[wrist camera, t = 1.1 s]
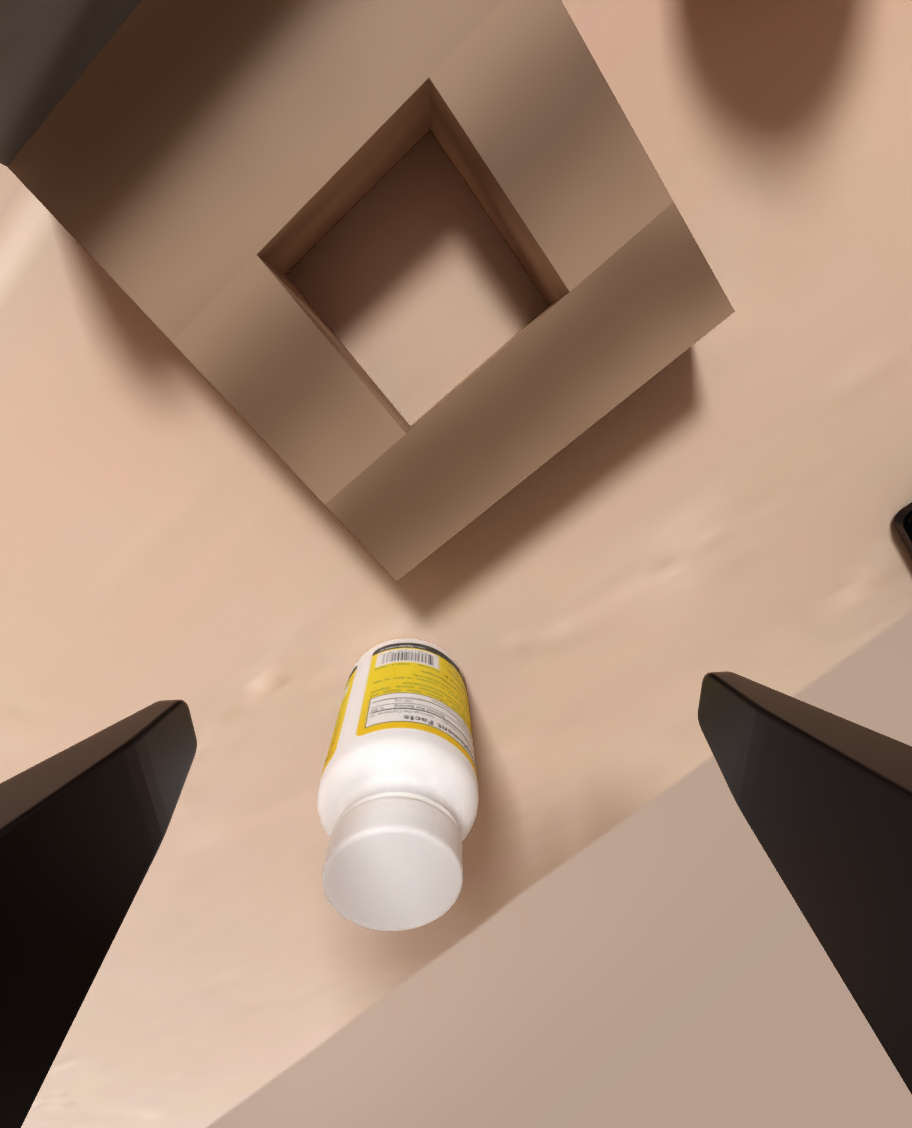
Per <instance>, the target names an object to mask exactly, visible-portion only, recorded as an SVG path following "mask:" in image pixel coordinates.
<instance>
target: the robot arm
mask: <svg viewBox="0 0 912 1128" xmlns="http://www.w3.org/2000/svg"><path fill="white" fill-rule="evenodd" d="M911 517H912V502H911V503H910V504H909V505H907V506H906V507H904V508H903V509H901V510H900V511H899V512H898V513H897V515H896V517H895V525H896V527H897V529H898V531H899V533H900V535H901V537H902V539H903V540H904V542H905V544H906V546H907V548H908V550H909V552H910V554H911V556H912V520H911V521H910V522H909V519H910V518H911ZM698 720H699V724H700V727H701V729H702V732H703V734H704V736H705V738H706V740H707V742H708V744H709V746H710V748H711V751H712V753H713V755H714V757H715V759H716V761H717V763H718V765H719V767H720V769H721V772H722V774H723V776H724V778H725V780H726V782H727V784H728V787H729V789H730V791H731V793H732V795H733V797H734V799H735V801H736V803H737V804H738V806H739V808H740V810H741V812H742V813H743V815H744V817H745V819H746V820H747V822H748V824H749V825H750V827H751V829H752V830H753V832H754V834H755V835H756V837H757V838H758V840H759V842H760V844H761V845H762V847H763V848H764V850H765V852H766V853H767V855H768V857H769V858H770V860H771V862H772V863H773V865H774V867H775V868H776V870H777V872H778V873H779V875H780V877H781V878H782V880H783V882H784V883H785V885H786V887H787V888H788V890H789V892H790V893H791V895H792V897H793V898H794V900H795V901H796V903H797V905H798V906H799V908H800V910H801V911H802V913H803V915H804V916H805V918H806V920H807V921H808V923H809V925H810V926H811V928H812V930H813V931H814V933H815V935H816V936H817V938H818V940H819V941H820V943H821V945H822V946H823V948H824V950H825V951H826V953H827V955H828V956H829V958H830V960H831V961H832V963H833V965H834V966H835V968H836V970H837V971H838V973H839V974H840V976H841V978H842V980H843V981H844V983H845V984H846V986H847V988H848V989H849V991H850V993H851V994H852V996H853V998H854V999H855V1001H856V1003H857V1004H858V1006H859V1008H860V1009H861V1011H862V1013H863V1014H864V1016H865V1018H866V1019H867V1021H868V1023H869V1024H870V1026H871V1027H872V1029H873V1031H874V1032H875V1034H876V1036H877V1038H878V1039H879V1041H880V1043H881V1044H882V1046H883V1047H884V1049H885V1051H886V1052H887V1054H888V1056H889V1057H890V1059H891V1061H892V1062H893V1064H894V1066H895V1067H896V1069H897V1071H898V1072H899V1074H900V1075H901V1077H902V1079H903V1081H904V1082H905V1084H906V1086H907V1087H908V1089H909V1091H910V1092H911V1094H912V747H911V746H908V745H906V744H904V743H902V742H899V741H897V740H894V739H892V738H889V737H887V736H885V735H882V734H880V733H877V732H875V731H872V730H870V729H868V728H865V727H863V726H860V725H858V724H856V723H853V722H851V721H848V720H846V719H844V718H841V717H839V716H836V715H834V714H832V713H829V712H827V711H824V710H822V709H819V708H817V707H815V706H812V705H810V704H807V703H805V702H802V701H800V700H798V699H795V698H793V697H791V696H788V695H786V694H783V693H781V692H778V691H776V690H774V689H771V688H769V687H766V686H764V685H762V684H759V683H757V682H754V681H752V680H749V679H747V678H745V677H742V676H740V675H737V674H735V673H732V672H711V673H707V674H706V675H705V676H704V678H703V681H702V688H701V694H700V701H699V708H698ZM196 748H197V740H196V735H195V731H194V727H193V723H192V719H191V715H190V711H189V707H188V705H187V703H186V702H184V701H183V700H164V701H158V702H156V703H154V704H152V705H150V706H148V707H146V708H144V709H142V710H140V711H138V712H136V713H135V714H133V715H131V716H129V717H127V718H125V719H123V720H121V721H119V722H117V723H115V724H113V725H112V726H110V727H108V728H106V729H104V730H102V731H100V732H98V733H96V734H94V735H92V736H91V737H89V738H87V739H85V740H83V741H81V742H79V743H77V744H75V745H73V746H71V747H69V748H68V749H66V750H64V751H62V752H60V753H58V754H56V755H54V756H52V757H50V758H48V759H47V760H45V761H43V762H41V763H39V764H37V765H35V766H33V767H31V768H29V769H27V770H25V771H24V772H22V773H20V774H18V775H16V776H14V777H12V778H10V779H8V780H6V781H4V782H3V783H1V784H0V1128H21V1126H22V1124H23V1122H24V1120H25V1118H26V1116H27V1114H28V1112H29V1110H30V1108H31V1106H32V1104H33V1102H34V1100H35V1098H36V1096H37V1094H38V1092H39V1090H40V1088H41V1086H42V1084H43V1082H44V1079H45V1077H46V1075H47V1073H48V1071H49V1069H50V1067H51V1065H52V1063H53V1061H54V1059H55V1057H56V1055H57V1053H58V1051H59V1049H60V1047H61V1045H62V1043H63V1041H64V1039H65V1037H66V1035H67V1033H68V1031H69V1029H70V1027H71V1025H72V1023H73V1021H74V1019H75V1017H76V1015H77V1013H78V1011H79V1009H80V1007H81V1005H82V1003H83V1001H84V999H85V997H86V995H87V993H88V990H89V988H90V986H91V984H92V982H93V980H94V978H95V976H96V974H97V972H98V970H99V968H100V966H101V964H102V962H103V960H104V958H105V956H106V954H107V952H108V950H109V948H110V946H111V944H112V942H113V940H114V938H115V936H116V934H117V932H118V930H119V928H120V926H121V924H122V922H123V920H124V918H125V916H126V914H127V912H128V910H129V908H130V906H131V904H132V901H133V899H134V897H135V895H136V893H137V891H138V889H139V887H140V885H141V883H142V881H143V879H144V877H145V875H146V873H147V871H148V869H149V867H150V865H151V863H152V861H153V859H154V857H155V855H156V853H157V851H158V849H159V846H160V844H161V842H162V840H163V838H164V835H165V833H166V831H167V828H168V826H169V823H170V820H171V818H172V815H173V812H174V810H175V807H176V804H177V802H178V799H179V796H180V794H181V791H182V788H183V786H184V783H185V780H186V778H187V775H188V772H189V770H190V767H191V764H192V762H193V759H194V756H195V753H196Z"/></svg>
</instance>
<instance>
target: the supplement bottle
mask: <svg viewBox="0 0 912 1128" xmlns="http://www.w3.org/2000/svg"><path fill="white" fill-rule="evenodd" d="M478 800H479V795H478V780H477V772H476V764H475V755H474V747H473V738H472V730H471V721H470V713H469V705H468V697H467V690H466V684H465V680H464V677H463V674H462V671H461V669H460V667H459V666H458V664H457V663H456V661H455V660H454V659H453V658H452V657H451V656H450V655H449V654H448V653H447V652H446V651H444V650H443V649H442V648H440V647H438V646H436V645H434V644H432V643H430V642H427V641H423V640H419V639H411V638H401V639H394V640H390V641H386V642H384V643H381V644H379V645H377V646H375V647H373V648H372V649H370V650H369V651H367V652H366V653H365V654H364V655H363V656H362V657H361V658H360V659H359V660H358V662H357V663H356V664H355V666H354V668H353V670H352V671H351V674H350V677H349V680H348V682H347V686H346V689H345V693H344V696H343V700H342V704H341V707H340V711H339V715H338V718H337V722H336V725H335V729H334V733H333V736H332V740H331V744H330V747H329V751H328V755H327V758H326V761H325V765H324V769H323V772H322V776H321V781H320V786H319V791H318V813H319V817H320V821H321V824H322V826H323V828H324V830H325V832H326V834H327V836H328V837H329V838H330V839H329V842H328V847H327V852H326V858H325V863H324V868H323V874H322V883H323V890H324V893H325V895H326V898H327V900H328V901H329V903H330V904H331V906H332V907H333V908H334V909H335V910H336V911H337V912H338V913H339V914H340V915H341V916H342V917H344V918H345V919H347V920H349V921H350V922H352V923H354V924H357V925H359V926H362V927H365V928H368V929H373V930H378V931H403V930H409V929H414V928H418V927H421V926H424V925H426V924H428V923H430V922H432V921H434V920H436V919H438V918H439V917H441V916H442V915H444V914H445V913H446V912H447V911H448V910H449V909H450V908H451V907H452V906H453V904H454V903H455V901H456V900H457V898H458V896H459V894H460V891H461V889H462V884H463V857H462V855H463V846H462V842H463V840H464V839H465V838H466V836H467V835H468V834H469V832H470V830H471V828H472V826H473V824H474V821H475V819H476V815H477V810H478Z"/></svg>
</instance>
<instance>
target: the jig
mask: <svg viewBox="0 0 912 1128" xmlns="http://www.w3.org/2000/svg"><path fill="white" fill-rule="evenodd" d="M429 130H431V131H432V133H433V134H434V136H435V137H436V139H437V140H438V142H439V143H440V145H441V146H442V148H443V149H444V150H445V152H446V153H447V155H448V156H449V158H450V159H451V161H452V162H453V164H454V165H455V167H456V168H457V170H458V171H459V173H460V174H461V176H462V177H463V179H464V180H465V182H466V183H467V185H468V186H469V188H470V189H471V191H472V192H473V193H474V195H475V196H476V198H477V199H478V201H479V202H480V204H481V205H482V207H483V208H484V210H485V211H486V213H487V214H488V216H489V217H490V219H491V220H492V222H493V223H494V225H495V226H496V228H497V229H498V231H499V232H500V233H501V235H502V236H503V238H504V239H505V241H506V242H507V244H508V245H509V247H510V248H511V250H512V251H513V253H514V254H515V256H516V257H517V259H518V260H519V262H520V263H521V265H522V266H523V268H524V269H525V271H526V272H527V273H528V275H529V276H530V278H531V279H532V281H533V282H534V284H535V285H536V287H537V288H538V290H539V291H540V293H541V294H542V296H543V297H544V299H545V300H546V302H547V303H548V305H549V306H548V307H547V308H546V309H545V310H544V311H543V312H542V313H540V314H539V315H538V316H537V317H536V318H535V319H534V320H532V321H531V322H530V323H529V324H528V325H527V326H525V327H524V328H523V329H522V330H521V331H520V332H519V333H517V334H516V335H515V336H514V337H513V338H512V339H510V340H509V341H508V342H507V343H506V344H505V345H504V346H502V347H501V348H500V349H499V350H498V351H497V352H496V353H494V354H493V355H492V356H491V357H490V358H489V359H487V360H486V361H485V362H484V363H483V364H482V365H481V366H479V367H478V368H477V369H476V370H475V371H474V372H473V373H471V374H470V375H469V376H468V377H467V378H466V379H464V380H463V381H462V382H461V383H460V384H459V385H458V386H456V387H455V388H454V389H453V390H452V391H451V392H449V393H448V394H447V395H446V396H445V397H444V398H443V399H441V400H440V401H439V402H438V403H437V404H436V405H435V406H433V407H432V408H431V409H430V410H429V411H428V412H426V413H425V414H424V415H423V416H422V417H421V418H420V419H418V420H417V421H416V422H415V423H414V424H413V425H412V426H410V425H409V424H408V423H407V422H406V421H405V419H404V418H403V417H402V416H401V414H400V413H399V412H398V411H397V410H396V408H395V407H394V406H393V405H392V404H391V402H390V401H389V400H388V399H387V398H386V396H385V395H384V394H383V393H382V391H381V390H380V389H379V388H378V387H377V385H376V384H375V383H374V382H373V381H372V379H371V378H370V377H369V376H368V375H367V373H366V372H365V371H364V370H363V369H362V367H361V366H360V365H359V364H358V362H357V361H356V360H355V359H354V358H353V356H352V355H351V354H350V353H349V352H348V350H347V349H346V348H345V347H344V346H343V344H342V343H341V342H340V341H339V340H338V338H337V337H336V336H335V335H334V333H333V332H332V331H331V330H330V329H329V327H328V326H327V325H326V324H325V323H324V321H323V320H322V319H321V318H320V317H319V315H318V314H317V313H316V312H315V310H314V309H313V308H312V307H311V306H310V304H309V303H308V302H307V301H306V300H305V298H304V297H303V296H302V295H301V294H300V292H299V291H298V290H297V289H296V288H295V286H294V285H293V284H292V283H291V281H290V280H289V279H288V278H287V277H286V274H287V273H288V272H289V271H290V270H291V269H292V268H293V267H294V266H295V265H296V264H297V263H298V262H299V261H300V260H301V259H302V258H303V257H304V256H305V255H306V254H307V253H308V252H309V251H310V250H311V249H312V248H313V247H314V246H315V245H316V244H317V243H318V242H319V241H320V240H321V239H322V238H323V237H324V236H325V235H326V234H327V233H328V232H329V231H330V230H331V229H332V228H333V227H334V226H335V225H336V224H337V223H338V222H339V221H340V220H341V219H342V218H343V217H344V216H345V215H346V214H347V213H348V212H349V210H350V209H351V208H352V207H353V206H354V205H355V204H356V203H357V202H358V201H359V200H360V199H361V198H362V197H363V196H364V195H365V194H366V193H367V192H368V191H369V190H370V189H371V188H372V187H373V186H374V185H375V184H376V183H377V182H378V181H379V180H380V179H381V178H382V177H383V176H384V175H385V174H386V173H387V172H388V171H389V170H390V169H391V168H392V167H393V166H394V165H395V164H396V163H397V162H398V161H399V160H400V159H401V158H402V157H403V156H404V155H405V154H406V153H407V152H408V151H409V150H410V149H411V148H412V147H413V146H414V145H415V144H416V143H417V142H418V141H419V140H420V139H421V138H422V137H423V136H424V135H425V134H426V133H427V132H428V131H429ZM0 163H1V164H3V165H5V166H7V167H8V168H9V169H10V170H11V171H12V172H13V173H14V174H15V175H16V176H17V177H18V179H19V180H20V181H21V182H22V183H23V184H24V185H25V186H26V187H27V188H28V189H29V190H30V191H31V192H32V193H33V195H34V196H35V197H36V198H37V199H38V200H39V201H40V202H41V203H42V204H43V205H44V206H45V207H46V208H47V209H48V211H49V212H50V213H51V214H52V215H53V216H54V217H55V218H56V219H57V220H58V221H59V222H60V223H61V224H62V225H63V227H64V228H65V229H66V230H67V231H68V232H69V233H70V234H71V235H72V236H73V237H74V238H75V239H76V240H77V241H78V243H79V244H80V245H81V246H82V247H83V248H84V249H85V250H86V251H87V252H88V253H89V254H90V255H91V256H92V257H93V259H94V260H95V261H96V262H97V263H98V264H99V265H100V266H101V267H102V268H103V269H104V270H105V271H106V272H107V273H108V275H109V276H110V277H111V278H112V279H113V280H114V281H115V282H116V283H117V284H118V285H119V286H120V287H121V288H122V289H123V291H124V292H125V293H126V294H127V295H128V296H129V297H130V298H131V299H132V300H133V301H134V302H135V303H136V304H137V305H138V307H139V308H140V309H141V310H142V311H143V312H144V313H145V314H146V315H147V316H148V317H149V318H150V319H151V320H152V321H153V323H154V324H155V325H156V326H157V327H158V328H159V329H160V330H161V331H162V332H163V333H164V334H165V335H166V336H167V337H168V339H169V340H170V341H171V342H172V343H173V344H174V345H175V346H176V347H177V348H178V349H179V350H180V351H181V352H182V353H183V355H184V356H185V357H186V358H187V359H188V360H189V361H190V362H191V363H192V364H193V365H194V366H195V367H196V368H197V369H198V371H199V372H200V373H201V374H202V375H203V376H204V377H205V378H206V379H207V380H208V381H209V382H210V383H211V384H212V385H213V387H214V388H215V389H216V390H217V391H218V392H219V393H220V394H221V395H222V396H223V397H224V398H225V399H226V400H227V401H228V403H229V404H230V405H231V406H232V407H233V408H234V409H235V410H236V411H237V412H238V413H239V414H240V415H241V416H242V417H243V419H244V420H245V421H246V422H247V423H248V424H249V425H250V426H251V427H252V428H253V429H254V430H255V431H256V432H257V434H258V435H259V436H260V437H261V438H262V439H263V440H264V441H265V442H266V443H267V444H268V445H269V446H270V447H271V448H272V450H273V451H274V452H275V453H276V454H277V455H278V456H279V457H280V458H281V459H282V460H283V461H284V462H285V463H286V464H287V466H288V467H289V468H290V469H291V470H292V471H293V472H294V473H295V474H296V475H297V476H298V477H299V478H300V479H301V480H302V482H303V483H304V484H305V485H306V486H307V487H308V488H309V489H310V490H311V491H312V492H313V493H314V494H315V495H316V496H317V498H318V499H319V500H320V501H321V502H322V503H323V504H324V505H325V506H326V507H327V508H328V509H329V510H330V511H331V512H332V514H333V515H334V516H335V517H336V518H337V519H338V520H339V521H340V522H341V523H342V524H343V525H344V526H345V527H346V528H347V530H348V531H349V532H350V533H351V534H352V535H353V536H354V537H355V538H356V539H357V540H358V541H359V542H360V543H361V544H362V546H363V547H364V548H365V549H366V550H367V551H368V552H369V553H370V554H371V555H372V556H373V557H374V558H375V559H376V560H377V562H378V563H379V564H380V565H381V566H382V567H383V568H384V569H385V570H386V571H387V572H388V573H389V574H390V575H391V576H392V578H393V579H394V580H395V581H396V582H397V581H398V580H399V579H401V578H402V577H403V576H404V575H406V574H407V573H408V572H409V571H411V570H412V569H413V568H414V567H416V566H417V565H418V564H419V563H421V562H422V561H423V560H424V559H426V558H427V557H428V556H429V555H431V554H432V553H433V552H434V551H436V550H437V549H438V548H439V547H441V546H442V545H443V544H444V543H446V542H447V541H448V540H449V539H451V538H452V537H453V536H454V535H456V534H457V533H458V532H459V531H461V530H462V529H463V528H464V527H466V526H467V525H468V524H469V523H471V522H472V521H473V520H474V519H476V518H477V517H478V516H479V515H481V514H482V513H483V512H484V511H486V510H487V509H488V508H489V507H491V506H492V505H493V504H494V503H496V502H497V501H498V500H499V499H501V498H502V497H503V496H504V495H506V494H507V493H508V492H509V491H511V490H512V489H513V488H514V487H516V486H517V485H518V484H519V483H521V482H522V481H523V480H524V479H526V478H527V477H528V476H529V475H531V474H532V473H533V472H534V471H536V470H537V469H538V468H539V467H541V466H542V465H543V464H544V463H546V462H547V461H548V460H549V459H551V458H552V457H553V456H554V455H556V454H557V453H558V452H559V451H561V450H562V449H563V448H564V447H566V446H567V445H568V444H570V443H571V442H572V441H573V440H575V439H576V438H577V437H578V436H580V435H581V434H582V433H583V432H585V431H586V430H587V429H588V428H590V427H591V426H592V425H593V424H595V423H596V422H597V421H598V420H600V419H601V418H602V417H603V416H605V415H606V414H607V413H608V412H610V411H611V410H612V409H613V408H615V407H616V406H617V405H618V404H620V403H621V402H622V401H623V400H625V399H626V398H627V397H628V396H630V395H631V394H632V393H633V392H635V391H636V390H637V389H638V388H640V387H641V386H642V385H643V384H645V383H646V382H647V381H648V380H650V379H651V378H652V377H653V376H655V375H656V374H657V373H658V372H660V371H661V370H662V369H663V368H665V367H666V366H667V365H668V364H670V363H671V362H672V361H673V360H675V359H676V358H677V357H678V356H680V355H681V354H682V353H683V352H685V351H686V350H687V349H688V348H690V347H691V346H692V345H693V344H695V343H696V342H697V341H698V340H700V339H701V338H702V337H703V336H705V335H706V334H707V333H708V332H710V331H711V330H712V329H713V328H715V327H716V326H717V325H718V324H720V323H721V322H722V321H723V320H725V319H726V318H727V317H728V316H730V315H731V314H732V313H733V312H735V311H734V309H733V307H732V306H731V304H730V302H729V300H728V299H727V297H726V295H725V293H724V291H723V290H722V288H721V286H720V284H719V282H718V281H717V279H716V277H715V275H714V273H713V272H712V270H711V268H710V266H709V264H708V263H707V261H706V259H705V257H704V256H703V254H702V252H701V250H700V248H699V247H698V245H697V243H696V241H695V239H694V238H693V236H692V234H691V232H690V230H689V229H688V227H687V225H686V223H685V222H684V220H683V218H682V216H681V214H680V213H679V211H678V209H677V207H676V205H675V204H674V202H673V200H672V198H671V196H670V195H669V193H668V191H667V189H666V188H665V186H664V184H663V182H662V180H661V179H660V177H659V175H658V173H657V171H656V170H655V168H654V166H653V164H652V162H651V161H650V159H649V157H648V155H647V153H646V152H645V150H644V148H643V146H642V145H641V143H640V141H639V139H638V137H637V136H636V134H635V132H634V130H633V128H632V127H631V125H630V123H629V121H628V119H627V118H626V116H625V114H624V112H623V111H622V109H621V107H620V105H619V103H618V102H617V100H616V98H615V96H614V94H613V93H612V91H611V89H610V87H609V85H608V84H607V82H606V80H605V78H604V76H603V75H602V73H601V71H600V69H599V68H598V66H597V64H596V62H595V60H594V59H593V57H592V55H591V53H590V51H589V50H588V48H587V46H586V44H585V42H584V41H583V39H582V37H581V35H580V34H579V32H578V30H577V28H576V26H575V25H574V23H573V21H572V19H571V17H570V16H569V14H568V12H567V10H566V8H565V7H564V5H563V3H562V1H561V0H0Z"/></svg>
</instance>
